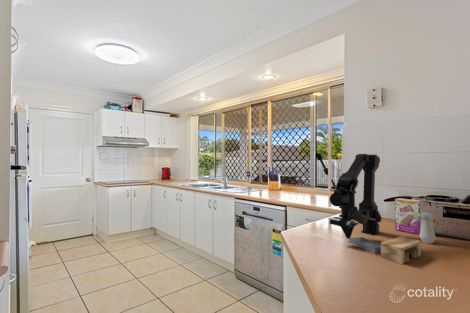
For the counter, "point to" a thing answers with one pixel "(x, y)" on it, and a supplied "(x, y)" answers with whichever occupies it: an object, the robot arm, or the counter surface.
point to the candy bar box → (408, 215)
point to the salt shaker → (427, 229)
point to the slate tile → (366, 244)
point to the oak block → (400, 249)
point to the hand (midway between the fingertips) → (348, 238)
